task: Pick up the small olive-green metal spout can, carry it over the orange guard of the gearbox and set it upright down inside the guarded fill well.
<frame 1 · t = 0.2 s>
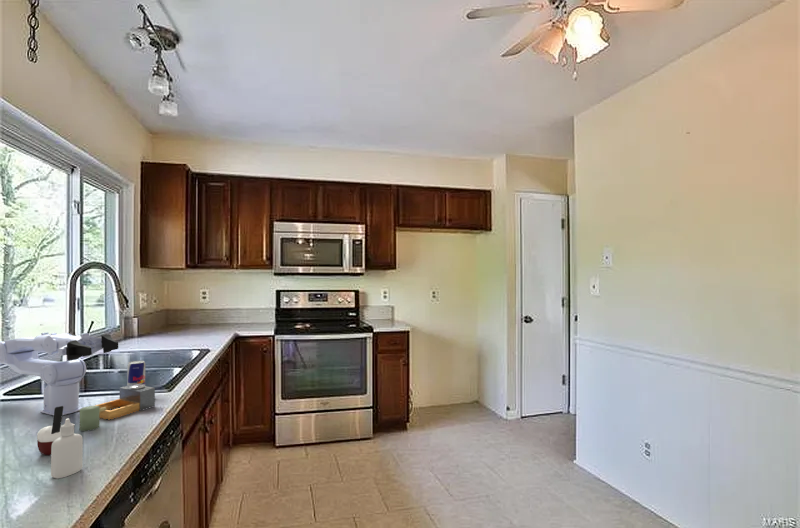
hand: (104, 348, 132), 21 cm above the countertop, tool horizontal, fingers open, 7 cm apart
spout can: (89, 427, 127), on the countertop
energy drink: (136, 397, 157), on the countertop
cocoa: (52, 453, 111), on the countertop
eye dropper bottle: (67, 474, 100), on the countertop
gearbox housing: (114, 413, 140), on the countertop
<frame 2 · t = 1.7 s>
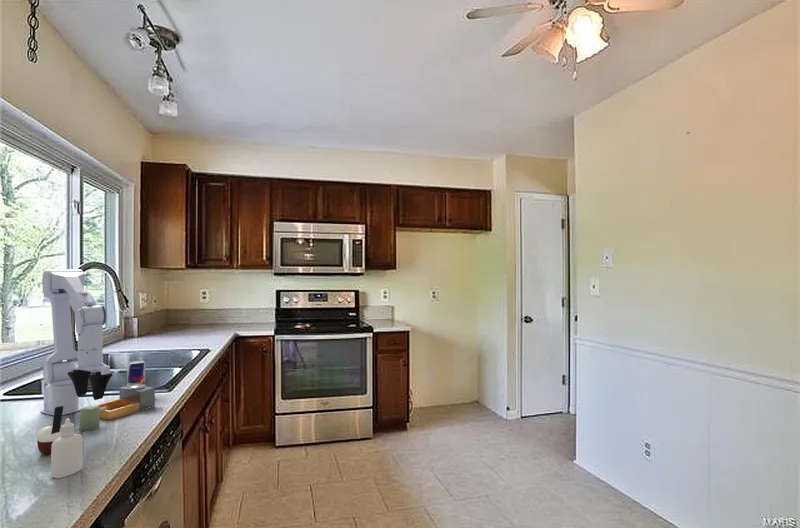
hand: (89, 397, 127), 9 cm above the countertop, tool pointing down, fingers open, 7 cm apart
nothing on the countertop moved.
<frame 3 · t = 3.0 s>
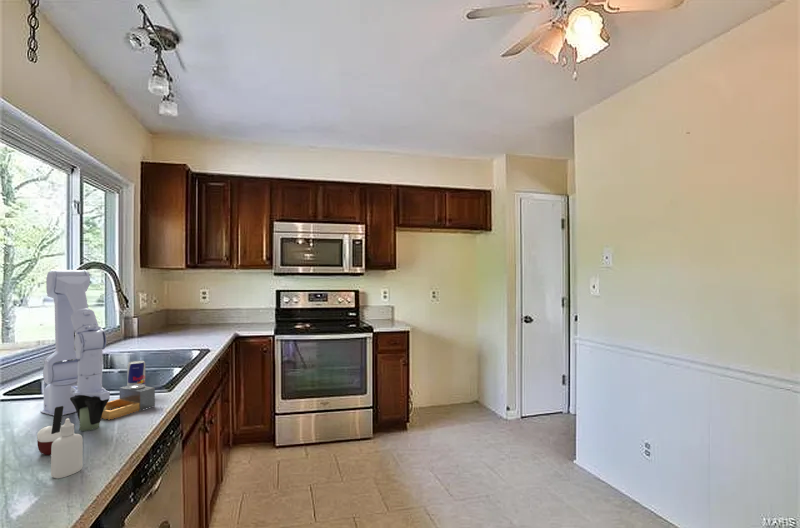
hand: (89, 422, 127), 2 cm above the countertop, tool pointing down, fingers closed on spout can, 5 cm apart
spout can: (89, 427, 127), on the countertop, touching gripper
everything else where it was.
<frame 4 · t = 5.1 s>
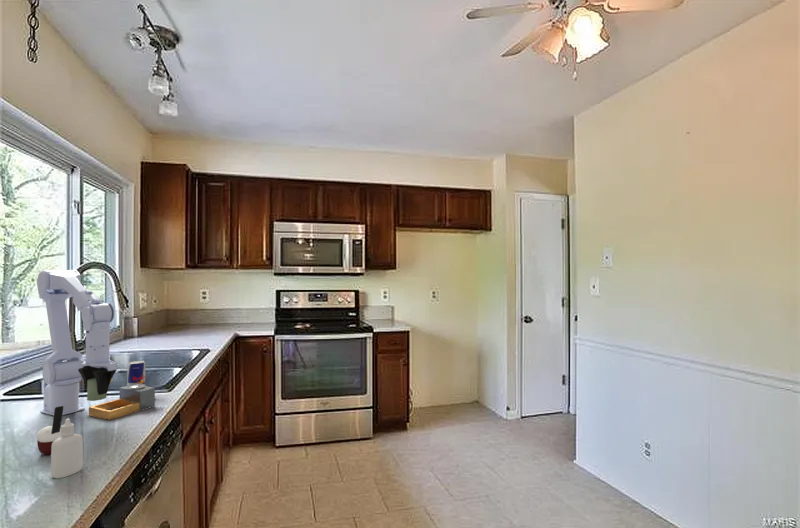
hand: (97, 392, 131), 9 cm above the countertop, tool pointing down, fingers closed on spout can, 5 cm apart
spout can: (96, 398, 131), point 7 cm above the countertop, touching gripper
everything else where it was.
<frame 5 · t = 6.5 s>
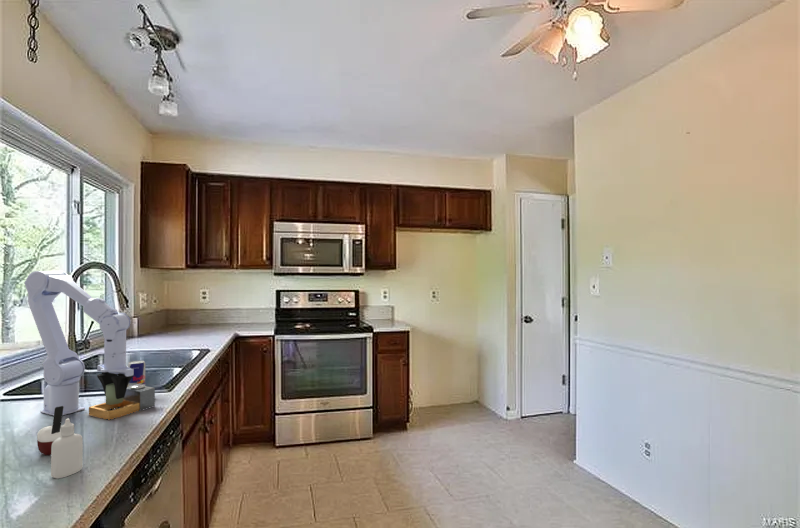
hand: (114, 397, 140), 5 cm above the countertop, tool pointing down, fingers closed on spout can, 5 cm apart
spout can: (114, 402, 140), point 3 cm above the countertop, touching gripper
everything else where it was.
when the fingers open (3 cm above the countertop, at t = 7.3 s): spout can drops 2 cm, resting in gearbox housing.
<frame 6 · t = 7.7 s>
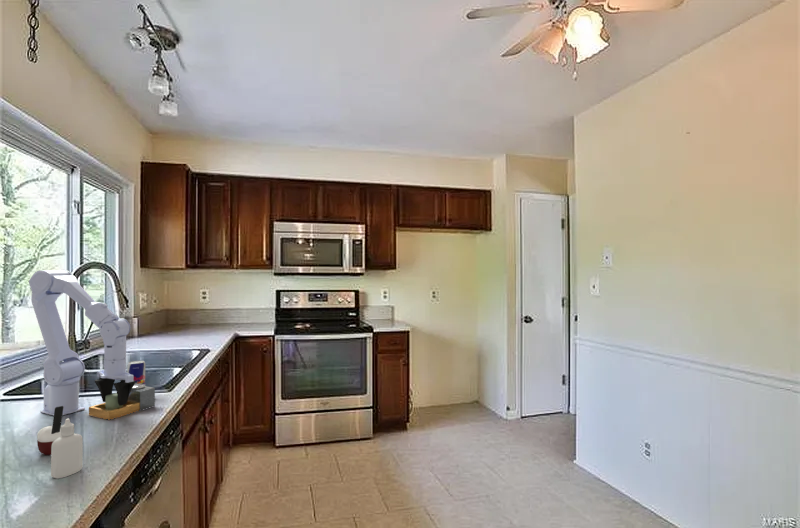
hand: (114, 402, 140), 3 cm above the countertop, tool pointing down, fingers open, 7 cm apart
spout can: (114, 413, 140), resting in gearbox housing
everything else where it was.
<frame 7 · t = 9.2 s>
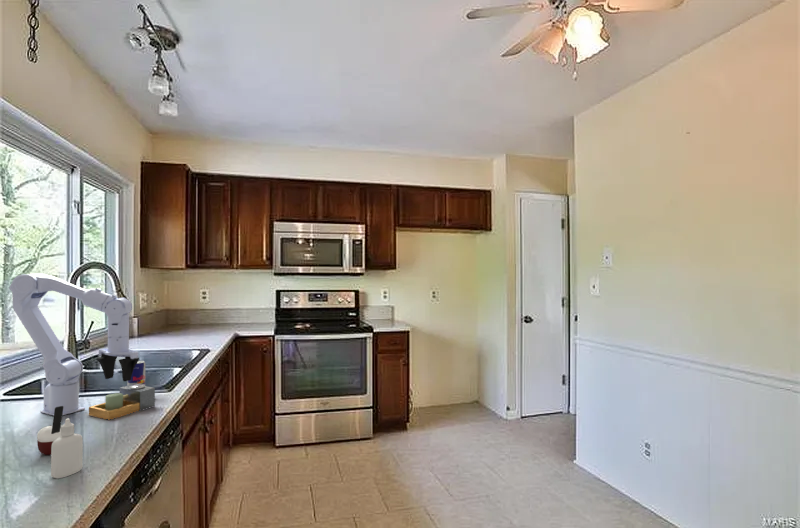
hand: (117, 379, 143), 9 cm above the countertop, tool pointing down, fingers open, 7 cm apart
nothing on the countertop moved.
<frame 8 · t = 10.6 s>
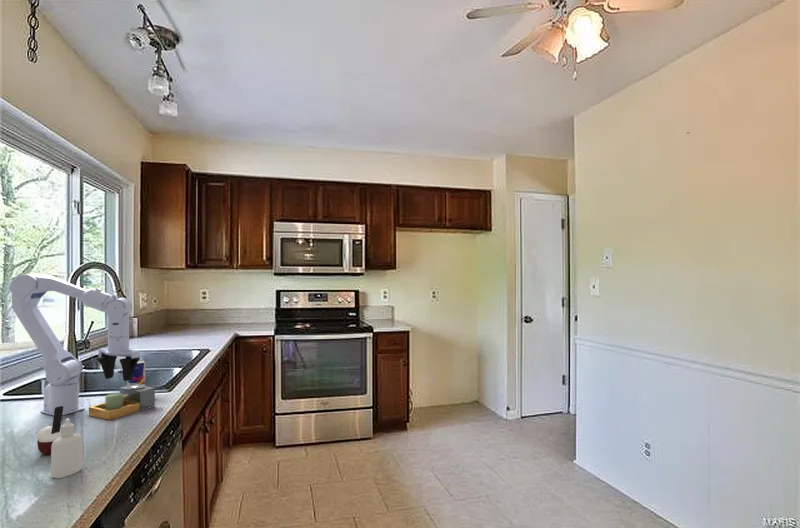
hand: (118, 379, 144), 9 cm above the countertop, tool pointing down, fingers open, 7 cm apart
nothing on the countertop moved.
at the end: spout can 0.1 cm off-centre on the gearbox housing, point 0.0 cm above the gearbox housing's base; spout can tilted 0°; the gripper is holding nothing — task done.
